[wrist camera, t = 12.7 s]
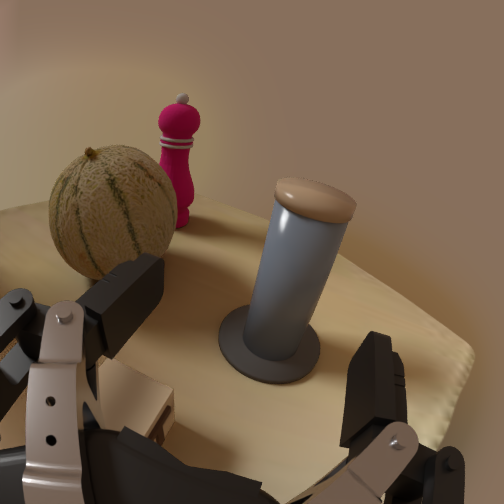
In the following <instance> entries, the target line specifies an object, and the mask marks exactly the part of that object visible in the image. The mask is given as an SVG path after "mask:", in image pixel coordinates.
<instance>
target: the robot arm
mask: <svg viewBox="0 0 504 504" xmlns="http://www.w3.org/2000/svg"><path fill="white" fill-rule="evenodd" d="M163 290H164V260H163V259H162V258H160V257H157V256H155V255H152V254H149V253H147V252H144V253H143V254H141V255H140V256H139V257H138V258H137V259H135V260H134V261H132V260H128V261H126V262H123V263H121V264H118V265H117V266H116V267H115V268H113V269H112V270H111V271H110V272H109V274H106V275H105V276H104V277H103V278H102V280H101V279H100V280H99V281H98V282H97V283H96V284H95V285H94V286H92V287H91V288H90V289H89V290H88V291H87V292H86V293H85V294H83V295H82V296H81V297H80V298H79V299H78V300H77V301H75V302H73V301H61V302H58V303H56V304H54V305H53V306H52V307H49V306H46V305H42V304H38V303H35V302H34V299H33V296H32V294H31V292H30V291H29V290H27V289H23V288H19V289H14V290H12V291H10V292H8V293H7V294H6V295H5V296H4V297H3V298H2V299H0V353H1V352H2V351H3V350H4V349H5V348H6V346H7V345H8V344H9V343H10V342H11V341H12V340H13V339H14V338H16V340H17V344H16V345H15V346H14V347H13V348H12V349H11V350H10V351H9V352H8V354H7V355H6V356H5V357H4V358H3V359H2V360H1V362H0V422H1V420H2V419H3V418H4V416H5V415H6V413H7V412H8V411H9V409H10V408H11V406H12V405H13V404H14V402H15V401H16V400H17V398H18V397H19V396H20V394H21V393H22V392H23V390H24V389H25V388H26V386H27V385H28V389H27V403H26V445H24V446H19V447H13V448H8V449H2V450H0V504H280V503H279V502H278V501H277V500H276V499H274V498H273V497H272V496H271V495H269V494H268V493H266V492H265V491H263V490H261V489H260V488H261V485H262V482H259V481H256V480H252V479H249V478H245V477H242V476H239V475H236V474H233V473H230V472H226V471H217V470H210V469H203V468H197V467H191V466H187V465H185V464H183V463H182V462H181V461H179V460H178V459H177V458H175V457H174V456H173V455H171V454H170V453H169V452H167V451H166V450H165V449H164V448H162V447H161V446H160V445H159V444H157V443H156V442H154V441H152V440H150V439H148V438H147V437H145V436H143V435H141V434H139V433H137V432H135V431H133V430H131V429H130V428H128V427H126V426H124V427H123V429H122V430H121V432H120V431H115V430H110V429H106V427H105V421H104V417H103V413H102V410H101V404H100V391H99V372H98V359H99V358H100V357H101V355H104V356H106V357H107V358H109V359H111V360H112V359H113V358H114V357H115V355H116V354H117V353H118V352H119V350H120V349H121V348H122V347H123V346H124V344H125V343H126V342H127V341H128V339H129V338H130V337H131V336H132V335H133V333H134V332H135V331H136V330H137V329H138V327H139V326H140V325H141V324H142V323H143V321H144V320H145V319H146V318H147V317H148V316H149V314H150V313H151V312H152V311H153V310H154V308H155V307H156V306H157V305H158V304H159V302H160V300H161V298H162V295H163ZM404 377H405V376H404V366H403V363H402V361H401V359H400V357H399V355H398V353H396V352H393V351H392V343H391V337H390V336H388V335H384V334H381V333H377V332H374V331H370V332H369V333H368V335H367V336H366V338H365V339H364V341H363V343H362V344H361V346H360V347H359V349H358V350H357V351H356V353H355V354H354V356H353V358H352V359H351V362H350V364H349V368H348V373H347V385H346V396H345V406H344V415H343V423H342V431H341V438H340V445H339V447H345V448H349V455H348V456H347V457H346V458H344V459H343V460H342V461H341V462H340V463H339V464H338V465H336V466H335V467H334V468H333V469H332V470H331V471H329V472H328V473H327V474H326V475H325V476H323V477H322V478H321V479H320V480H318V481H317V482H316V483H315V484H313V485H312V486H311V487H309V488H308V489H307V490H305V491H304V492H302V493H300V494H299V495H297V496H296V497H294V498H293V499H291V500H290V501H288V502H287V503H285V504H381V503H382V500H381V499H380V498H381V496H382V495H383V494H384V493H386V494H385V500H384V504H421V502H422V504H464V487H465V463H464V458H463V456H462V454H461V453H460V451H459V450H458V449H456V448H455V447H451V446H447V447H444V448H442V449H441V450H439V451H438V452H436V451H434V450H432V449H430V448H428V447H426V446H424V445H422V444H420V443H419V441H418V437H417V434H416V432H415V431H414V429H413V428H412V427H411V426H409V425H408V422H407V401H406V388H405V379H404ZM0 441H1V435H0ZM422 497H423V498H422Z"/></svg>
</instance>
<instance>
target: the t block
mask: <svg viewBox="0 0 504 504" xmlns="http://www.w3.org/2000/svg"><path fill="white" fill-rule="evenodd" d="M98 372H99V391H100V404H101V410H102V413H103V417H104V421H105V427H106V429H110V430H115V431H120V432H121V430H122V429H123V427H124V426H126V427H128V428H130V429H131V430H133V431H135V432H137V433H139V434H141V435H143V436H145V437H147V438H148V439H150V440H152V441H154V442H156V443H157V444H159V445H160V446H161V445H162V444H163V442H164V440H165V437H166V435H167V433H168V431H169V430H170V428H171V426H172V424H173V423H174V421H175V414H174V390H173V388H170V387H168V386H166V385H164V384H162V383H160V382H158V381H156V380H154V379H152V378H150V377H148V376H146V375H144V374H142V373H140V372H138V371H136V370H134V369H132V368H131V367H129V366H127V365H125V364H123V363H121V362H120V361H118V360H116V359H114V358H113V359H112V360H111V359H109V358H107V359H106V360H105V361H104V362H103V363H102V364H101V366H100V367H99V368H98Z"/></svg>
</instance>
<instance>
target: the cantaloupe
mask: <svg viewBox="0 0 504 504" xmlns="http://www.w3.org/2000/svg"><path fill="white" fill-rule="evenodd" d="M177 212H178V211H177V199H176V193H175V191H174V188H173V186H172V183H171V180H170V179H169V177H168V176H167V174H166V173H165V171H164V170H163V169H162V167H161V166H160V165H159V164H158V163H157V162H155V160H153V159H152V158H151V157H150V156H149V155H147V154H146V153H144V152H142V151H141V150H139V149H137V148H134V147H129V146H124V145H111V146H106V147H101V148H98V149H95V150H93V149H92V148H91V147H88V148H86V149H85V154H84V155H82V156H80V157H78V158H76V159H75V160H74V161H73V162H71V164H69V165H68V166H67V167H66V168H65V169H64V170H63V172H62V173H61V174H60V175H59V177H58V178H57V180H56V182H55V185H54V187H53V189H52V192H51V196H50V200H49V226H50V231H51V236H52V239H53V241H54V244H55V246H56V248H57V250H58V252H59V253H60V255H61V256H62V258H63V259H64V260H65V262H66V263H67V264H68V265H69V266H70V267H72V268H73V269H74V270H76V271H77V272H79V273H81V274H82V275H84V276H86V277H88V278H91V279H96V280H100V279H101V280H102V278H103V277H104V276H105V275H106V274H109V272H110V271H111V270H112V269H113V268H115V267H116V266H117V265H118V264H121V263H123V262H126V261H128V260H132V261H134V260H135V259H137V258H138V257H139V256H140V255H141V254H143V253H144V252H147V253H149V254H152V255H155V256H157V257H160V258H161V256H162V255H163V254H164V253H165V251H166V250H167V248H168V246H169V244H170V242H171V239H172V236H173V234H174V231H175V228H176V222H177V217H178V216H177Z"/></svg>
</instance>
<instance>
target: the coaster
mask: <svg viewBox="0 0 504 504" xmlns="http://www.w3.org/2000/svg"><path fill="white" fill-rule="evenodd" d="M249 306H250V305H246V306H242V307H239V308H237V309H235V310H233V311H232V312H231V313H229V314H228V315H227V316H226V317H225V319H224V320H223V322H222V324H221V327H220V331H219V345H220V349H221V351H222V353H223V355H224V357H225V358H226V360H227V361H228V362H229V363H230V365H231V366H232V367H234V368H235V369H236V370H237V371H239V372H240V373H241V374H243V375H245V376H247V377H249V378H251V379H254V380H256V381H260V382H264V383H270V384H284V383H290V382H293V381H296V380H299V379H301V378H303V377H304V376H306V375H307V374H308V373H309V372H310V371H311V370H312V369H313V367H314V366H315V364H316V362H317V360H318V358H319V355H320V343H319V339H318V337H317V334H316V333H315V331H314V329H313V328H312V327H311V326H310V325H309V324H308V327H307V329H306V331H305V334H304V336H303V338H302V340H301V342H300V345H299V347H298V349H297V351H296V353H295V354H294V355H293V356H291V357H290V358H288V359H285V360H281V361H270V360H266V359H263V358H260V357H258V356H256V355H255V354H253V353H252V352H251V351H250V350H249V349H248V348H247V347H246V345H245V343H244V341H243V330H244V326H245V322H246V318H247V314H248V310H249Z"/></svg>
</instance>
